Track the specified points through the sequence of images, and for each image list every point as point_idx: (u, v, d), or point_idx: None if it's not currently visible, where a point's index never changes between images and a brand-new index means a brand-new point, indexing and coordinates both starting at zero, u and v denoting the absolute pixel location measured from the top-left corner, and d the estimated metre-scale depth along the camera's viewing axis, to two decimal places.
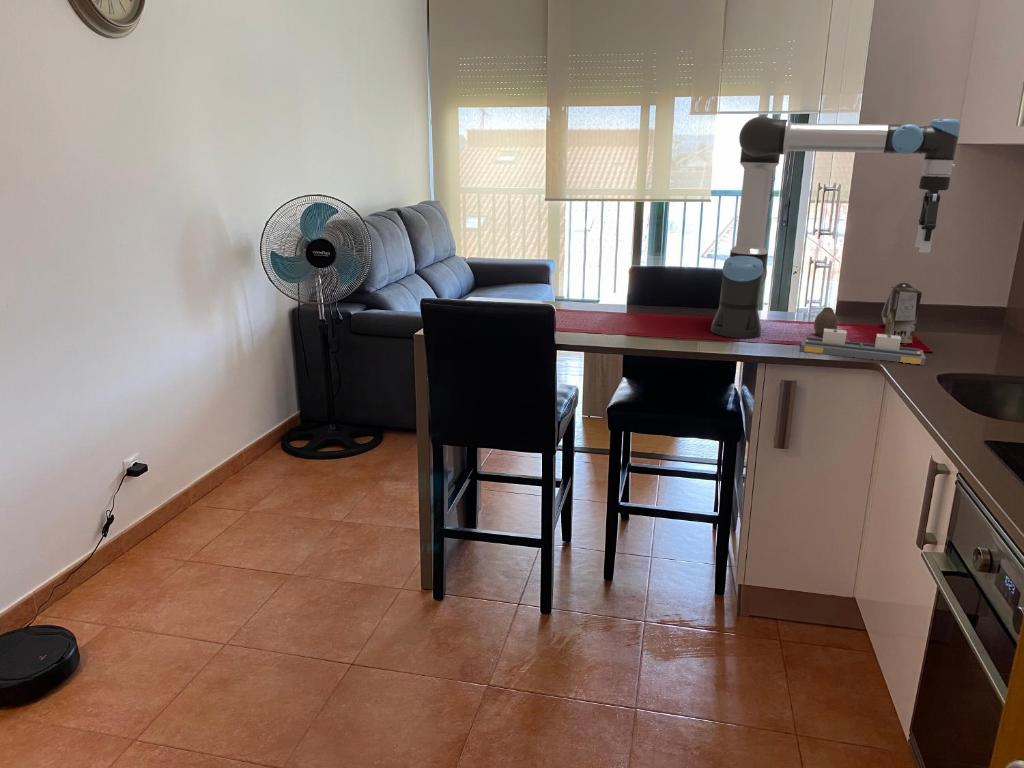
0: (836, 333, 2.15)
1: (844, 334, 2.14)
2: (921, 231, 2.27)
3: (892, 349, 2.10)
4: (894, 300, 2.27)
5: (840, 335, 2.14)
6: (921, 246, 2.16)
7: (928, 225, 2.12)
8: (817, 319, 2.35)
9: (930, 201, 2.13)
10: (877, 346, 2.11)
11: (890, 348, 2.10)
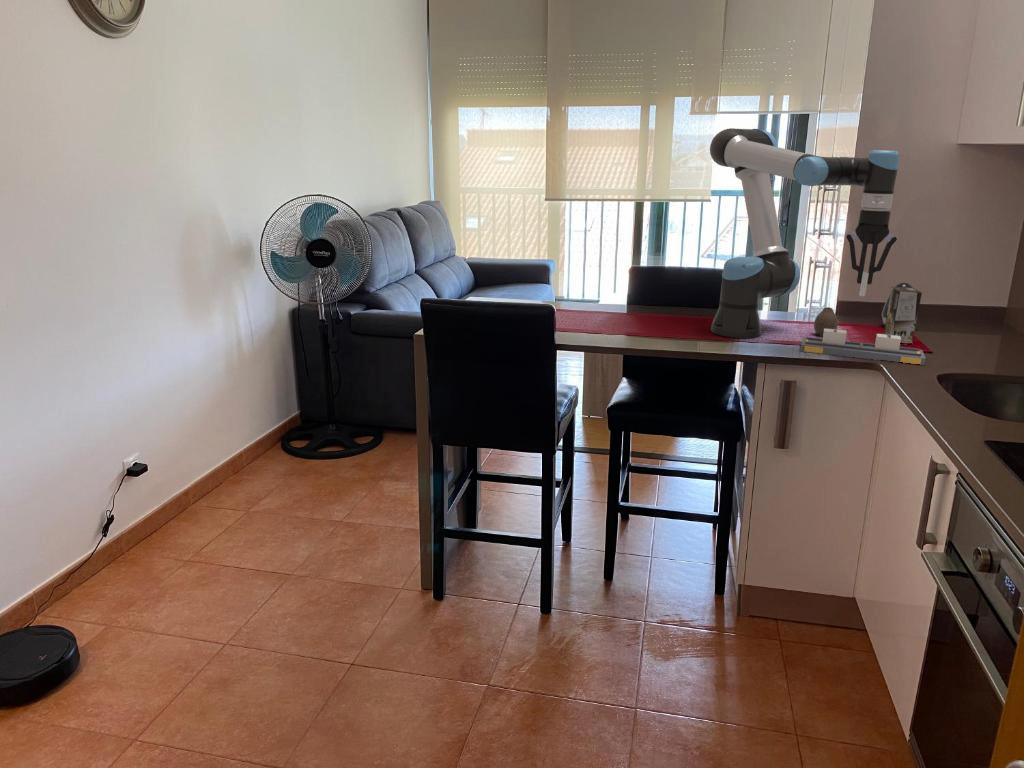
0: (836, 333, 2.15)
1: (844, 334, 2.14)
2: None
3: (892, 349, 2.10)
4: (894, 300, 2.27)
5: (840, 335, 2.14)
6: None
7: None
8: (817, 319, 2.35)
9: None
10: (877, 346, 2.11)
11: (890, 348, 2.10)
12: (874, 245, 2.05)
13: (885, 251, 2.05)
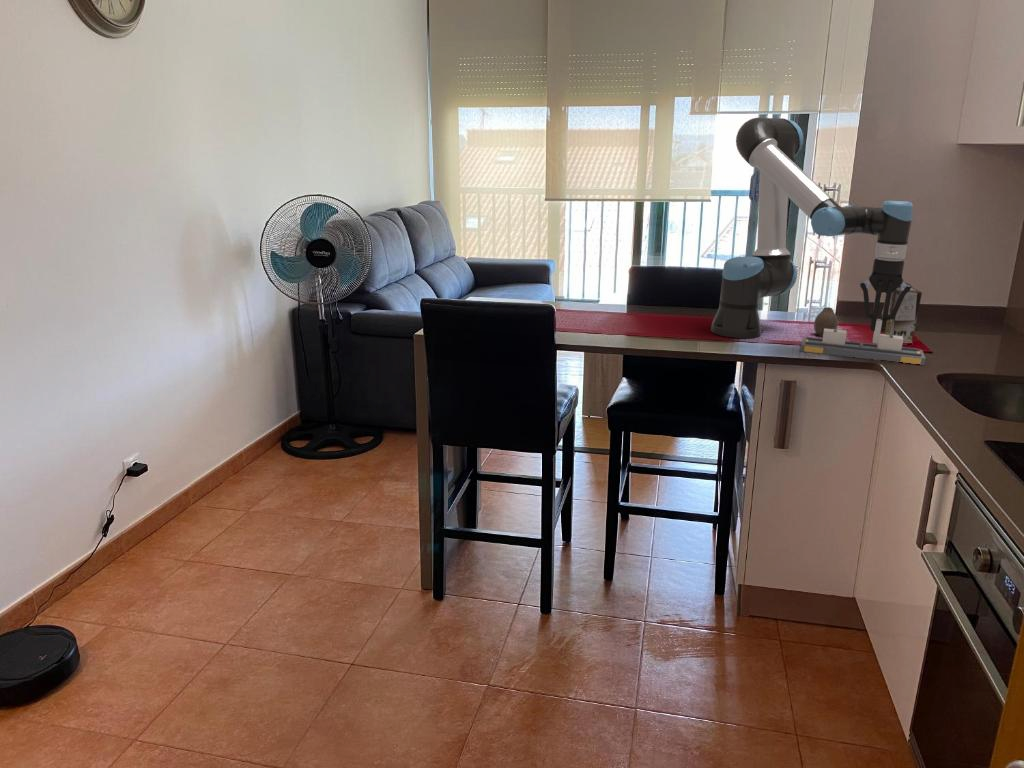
0: (836, 333, 2.15)
1: (844, 334, 2.14)
2: None
3: (894, 349, 2.10)
4: (894, 300, 2.27)
5: (840, 335, 2.14)
6: (873, 335, 2.14)
7: None
8: (817, 319, 2.35)
9: None
10: (879, 346, 2.11)
11: (892, 348, 2.10)
12: (888, 294, 2.07)
13: (899, 300, 2.07)
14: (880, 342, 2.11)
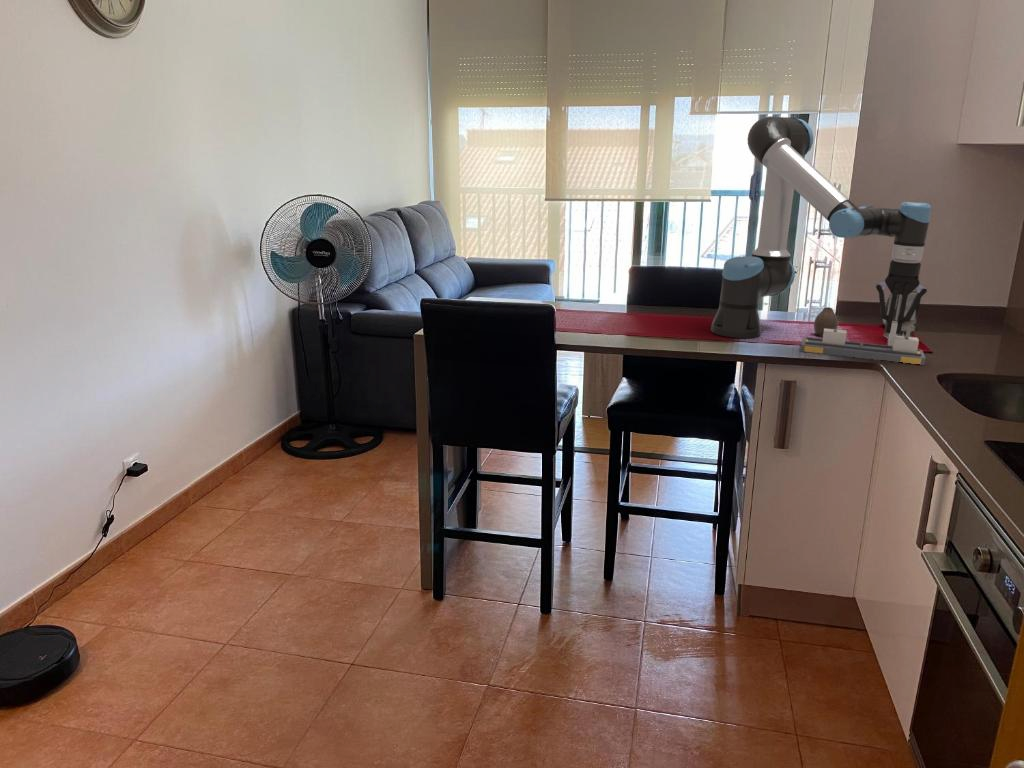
0: (836, 333, 2.15)
1: (844, 334, 2.14)
2: None
3: (910, 351, 2.09)
4: None
5: (840, 335, 2.14)
6: None
7: None
8: (817, 319, 2.35)
9: None
10: (894, 348, 2.10)
11: (908, 350, 2.09)
12: (904, 296, 2.06)
13: (915, 302, 2.05)
14: (895, 344, 2.09)
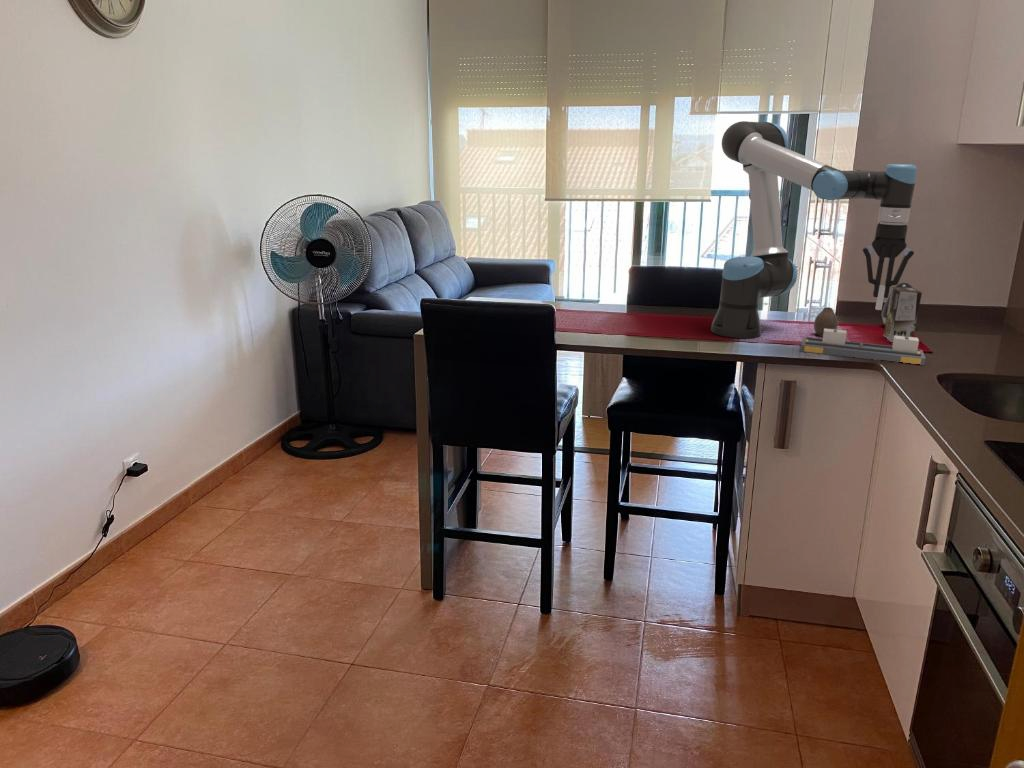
0: (836, 333, 2.15)
1: (844, 334, 2.14)
2: None
3: (910, 351, 2.09)
4: (894, 300, 2.27)
5: (840, 335, 2.14)
6: (876, 302, 2.11)
7: None
8: (817, 319, 2.35)
9: None
10: (895, 348, 2.10)
11: (908, 350, 2.09)
12: (891, 259, 2.04)
13: (902, 265, 2.04)
14: (895, 344, 2.09)
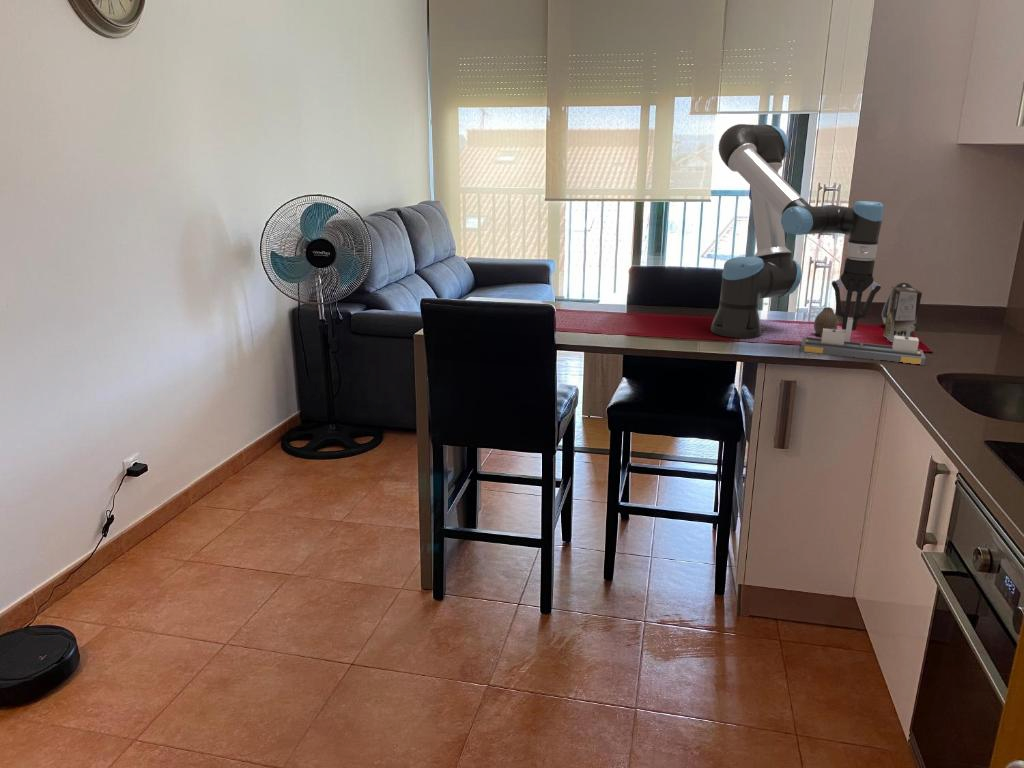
0: (835, 333, 2.15)
1: (843, 334, 2.14)
2: None
3: (910, 351, 2.09)
4: (894, 300, 2.27)
5: (839, 335, 2.15)
6: None
7: None
8: (817, 319, 2.35)
9: None
10: (895, 348, 2.10)
11: (908, 350, 2.09)
12: (859, 293, 2.10)
13: (869, 299, 2.10)
14: (895, 344, 2.09)
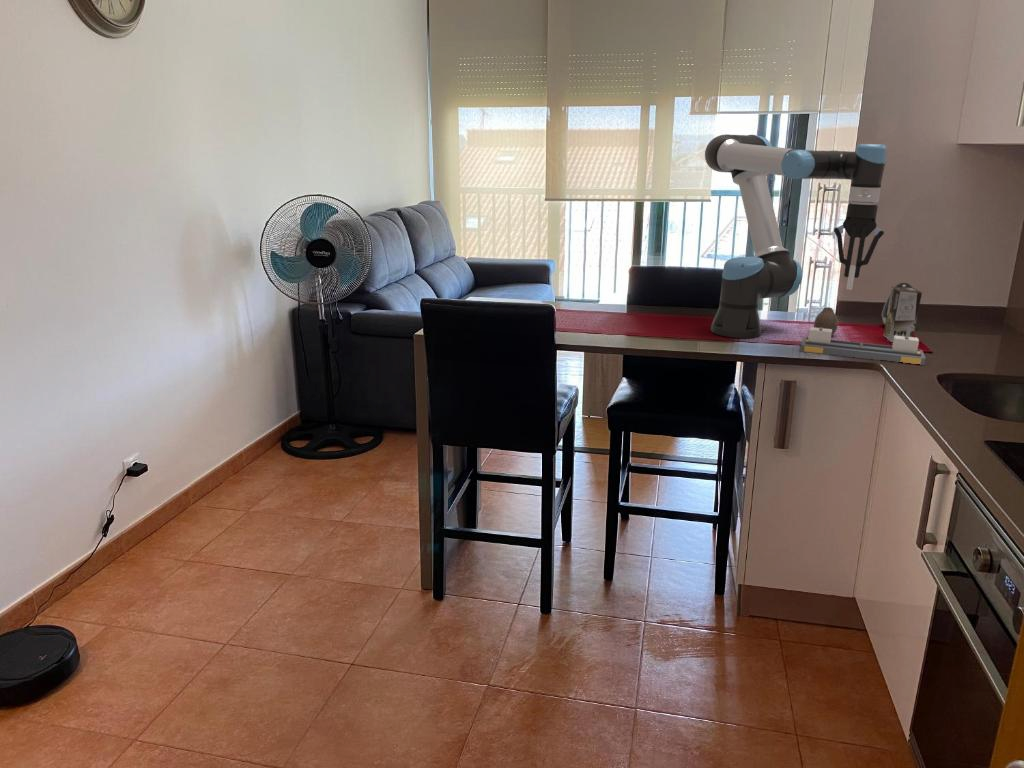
0: (821, 332, 2.16)
1: (829, 333, 2.15)
2: None
3: (910, 351, 2.09)
4: (894, 300, 2.27)
5: (825, 334, 2.16)
6: (847, 282, 2.13)
7: None
8: (817, 319, 2.35)
9: None
10: (895, 348, 2.10)
11: (908, 350, 2.09)
12: (861, 239, 2.06)
13: (872, 245, 2.06)
14: (895, 344, 2.09)
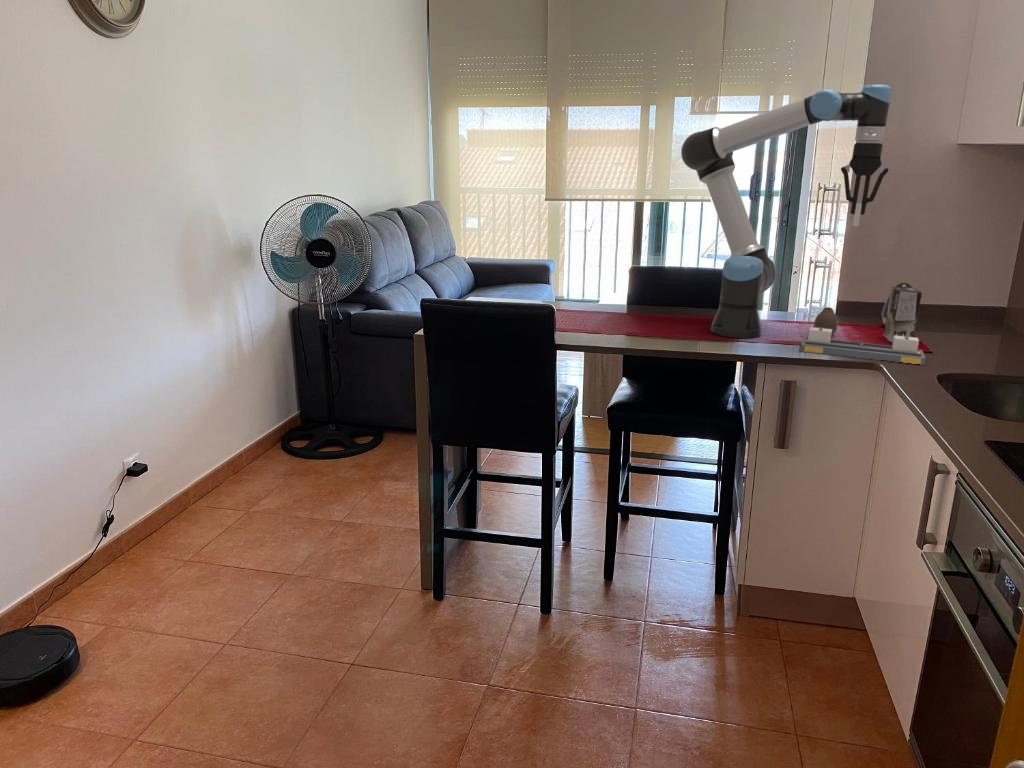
0: (821, 332, 2.16)
1: (829, 333, 2.15)
2: None
3: (910, 351, 2.09)
4: (894, 300, 2.27)
5: (825, 334, 2.16)
6: None
7: None
8: (817, 319, 2.35)
9: None
10: (895, 348, 2.10)
11: (908, 350, 2.09)
12: (867, 176, 2.17)
13: (877, 182, 2.17)
14: (895, 344, 2.09)
